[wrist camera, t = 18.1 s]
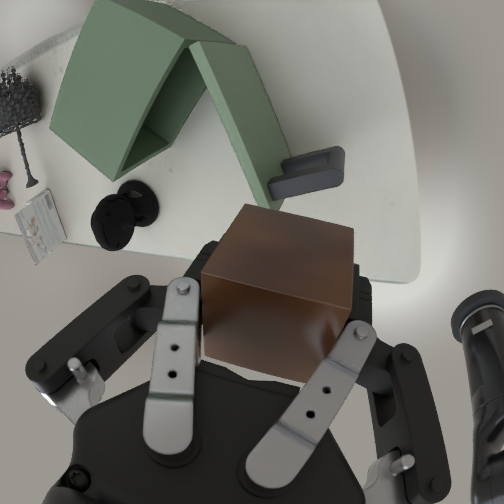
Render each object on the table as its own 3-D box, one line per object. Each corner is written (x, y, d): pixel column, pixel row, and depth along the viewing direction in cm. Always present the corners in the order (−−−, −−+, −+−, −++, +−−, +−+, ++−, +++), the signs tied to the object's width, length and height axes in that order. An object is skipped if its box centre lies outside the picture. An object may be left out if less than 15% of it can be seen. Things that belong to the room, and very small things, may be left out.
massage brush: (37, 174, 48) (2, 197, 40) (16, 70, 35) (-24, 83, 28) (64, 172, 45) (25, 196, 38) (42, 54, 33) (-3, 65, 25)
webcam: (114, 179, 43) (70, 210, 35) (153, 178, 41) (109, 211, 33) (126, 223, 47) (88, 258, 39) (164, 226, 45) (127, 265, 37)
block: (354, 227, 13) (352, 309, 9) (327, 306, 16) (314, 386, 12) (244, 202, 14) (199, 271, 10) (238, 284, 17) (204, 355, 13)
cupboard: (237, 43, 28) (185, 38, 18) (170, 147, 37) (113, 182, 28) (165, 3, 26) (97, -6, 17) (113, 104, 36) (48, 128, 26)
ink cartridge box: (60, 237, 55) (29, 264, 48) (44, 189, 49) (8, 214, 42) (67, 238, 55) (36, 266, 47) (50, 189, 48) (14, 214, 41)
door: (300, 25, 25) (276, 6, 16) (349, 160, 32) (349, 204, 23) (237, 49, 28) (188, 46, 19) (289, 174, 35) (264, 222, 26)
